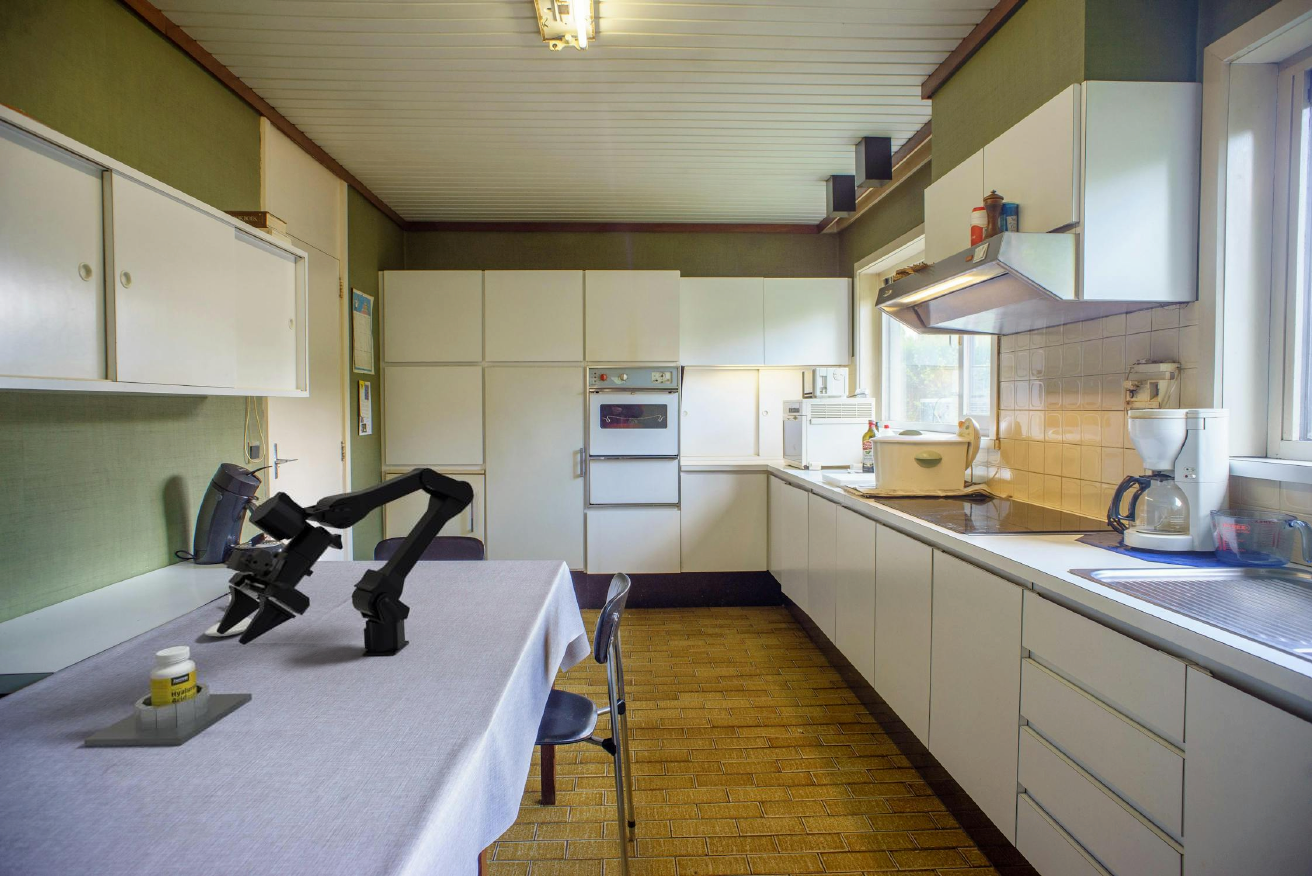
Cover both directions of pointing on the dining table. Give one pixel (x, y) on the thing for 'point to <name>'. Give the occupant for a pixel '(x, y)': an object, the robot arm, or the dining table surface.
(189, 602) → the dining table surface
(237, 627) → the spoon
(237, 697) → the duct collar
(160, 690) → the supplement bottle
